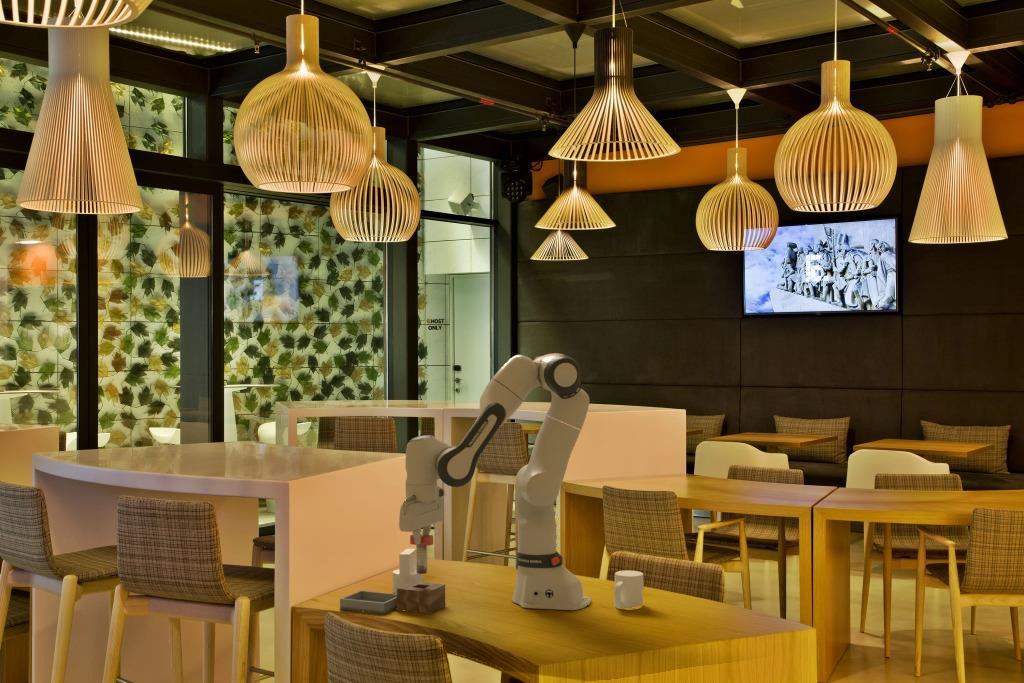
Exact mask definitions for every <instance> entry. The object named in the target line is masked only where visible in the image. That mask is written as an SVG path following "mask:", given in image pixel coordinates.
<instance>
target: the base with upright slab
mask: <svg viewBox="0 0 1024 683" xmlns="http://www.w3.org/2000/svg"><path fill="white" fill-rule="evenodd" d="M398 555H399V558H398V559H399V563H398V565H399V566H398V569H395V570H392V593H393V592H394V593H396V594H397V588H399V587H402V586H404V585H406V584H409V583H411V582H413V581H417V582H424V574H417V566H416V548H405V549H404V550H403V551H402V552H400V553H399V554H398ZM394 593H393V594H394Z"/></svg>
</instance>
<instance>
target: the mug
mask: <svg viewBox="0 0 1024 683" xmlns="http://www.w3.org/2000/svg"><path fill="white" fill-rule="evenodd" d="M644 584H645V583H644V573H643V572H642V571H638V570H629V569H628V570H627V569H626V570H619V571H616V572H615V573H614V589H613V590H614V592H613V593H614V594H613V603H614V605H613V606H614V608H615V607H617V608H632V607H638V606H641V605H643V606H644V594H643V592H644V590H645V588H644V586H645V585H644Z"/></svg>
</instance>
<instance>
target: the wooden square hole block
mask: <svg viewBox="0 0 1024 683" xmlns="http://www.w3.org/2000/svg"><path fill="white" fill-rule="evenodd" d="M444 605H445V606H446V584H445V583H435V582H425V581H423V582H417V581H413V582H411V583H409V584H406V585H404V586H402V587H399V588H397V609H396V611H400V610H405V611H404V612H409V611H417V612H416V613H418V612H426V613H425V614H427V613H429V614H431V613H433V612H435V611H437V610H439V609H441V608H443V607H445V606H444ZM442 606H443V607H442ZM440 607H441V608H440ZM438 608H439V609H438ZM436 609H437V610H436ZM434 610H435V611H434ZM432 611H433V612H432ZM430 612H431V613H430Z"/></svg>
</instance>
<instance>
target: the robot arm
mask: <svg viewBox="0 0 1024 683" xmlns="http://www.w3.org/2000/svg"><path fill="white" fill-rule="evenodd" d="M581 374H582V372H581V367H580V365H579V364H578V362H577V361H576V360H575V359H574V358H572V357H570V356H569V355H566V354H564V353H563V354H562V353H557V352H554V353H552V352H548V353H547V352H546V353H543V354H539V355H538V356H536V357H533V358H530V357H528V356H527V355H523V354H516V355H513V356H512V357H511V358H509V359H508V360H507V361H506V362H505V363H504V364H503V365H502V366H501V367H500V368H499V369H498V371H496V373H495V374H494V375H493V377H492V378H491V379H490V381H489V382H488V384H487V385H486V386H485V388H484V390H483V392H482V394H481V396H480V398H479V409H478V410H479V411H478V416H477V417H476V420H475V422H474V423H473V425H472V426H471V427H470V429H469V430H468V431H467V433H466V435H465V436H464V438H463V439H462V440H461V441H460V443H458V445H457V446H454V445H452V444H448V443H446V442H443V441H441V440H440V439H438V438H436V437H435V436H434V435H432V434H426V435H425V434H424V435H419V436H415V437H412V438H411V439H410V440H409V441H408V442H407V445H406V449H405V470H406V479H405V498H404V500H403V502H402V504H401V505H400V509H399V519H398V520H399V522H398V523H399V524H398V528H399V530H400V532H407V533H412V535H413V536H414V539H415V544H421V543H422V542H423V541H422V540H423V537H421V534H422V535H431V534H430V533H431V530H432V525H434V524H437V523H440V522H442V521H443V518H444V509H445V507H444V506H445V505H444V504H445V503H444V501H445V500H444V497H445V495H446V494H445V493H446V492H445V491H446V490H445V489H444V488H443V487H441V486H438V480H441V481H442V482H443V483H444V484H446V486H449V487H452V488H459V487H460V488H461V487H463V486H465V485H466V484H468V483H469V482H470V481H471V480H472V478H473V477H474V474H475V473H476V472H475V470H476V466H477V463H478V460H479V458H480V456H481V455H482V452H483V451H484V450H485V449H486V447H487V446H488V445H489V443H490V441H491V440H492V438H493V437H494V435H495V434H496V433H497V431H498V430H499V429H500V427H501V426H503V424H505V423H506V422H507V421H508V419H509V418H511V417H512V416H513V415H514V414H515V412H516V411H517V410H518V409H519V407H520V406H521V405H522V404H523V402H524V401H525V399H526V398H527V397H528V395H529V393H531V392H532V391H533V390H534V389H536V388H541V389H544V390H546V391H549V392H550V394H551V402H550V406H549V407H548V410H547V412H546V415H545V416H544V419H543V421H542V422H541V426H540V428H539V429H538V433H537V435H536V438H535V439H534V444H533V448H532V451H531V455H530V458H529V461H528V463H527V464H525V465H524V466H522V467H521V468H520V469H519V470H518V472H517V473H516V476H515V483H514V484H515V501H516V502H515V504H516V517H517V551H516V556H515V566H516V570H517V571H516V579H515V580H516V581H515V587H514V591H513V592H514V593H513V595H512V601H511V602H513V603H515V604H516V605H519V606H520V607H521V608H523V609H538V610H539V609H542V610H543V609H544V610H560V611H562V610H563V611H577V610H581V609H584V608H586V607H587V605H588V606H589V605H590V604H591V603H590V602H592V600H591V597H590V596H587V595H584V591H583V584H582V582H581V580H580V579H579V577H577V576H576V575H575V574H573V573H572V572H571V571H570V570H568V568H566V567H565V566H564V565H563V559H565V554H563V553H562V554H560V553H559V552H558V551H557V522H556V514H555V504H554V502H555V501H556V500H557V498H558V496H559V493H560V489H561V486H562V484H563V481H564V479H565V474H566V472H567V468H568V465H569V461H570V458H571V455H572V452H573V450H574V449H575V448H574V447H575V445H576V442H577V440H578V439H579V437H580V434H581V432H582V431H581V430H582V429H583V427H584V424H585V420H586V418H587V416H588V415H587V414H588V410H589V406H590V396H589V394H588V393H587V392H586V391H585V390H584V389H583V388H582V382H581V378H582V376H581ZM421 532H422V533H421Z"/></svg>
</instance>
